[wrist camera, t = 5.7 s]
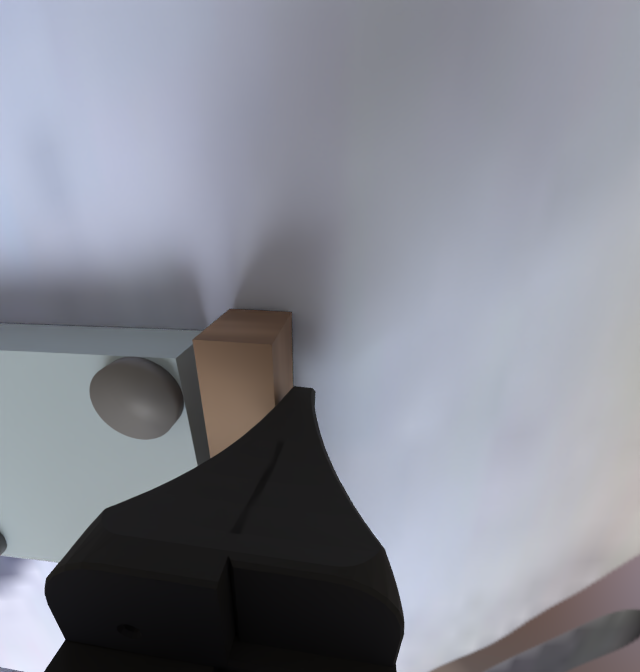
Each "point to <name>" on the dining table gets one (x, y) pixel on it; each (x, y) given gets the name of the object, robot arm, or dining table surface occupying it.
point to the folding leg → (242, 371)
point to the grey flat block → (90, 426)
